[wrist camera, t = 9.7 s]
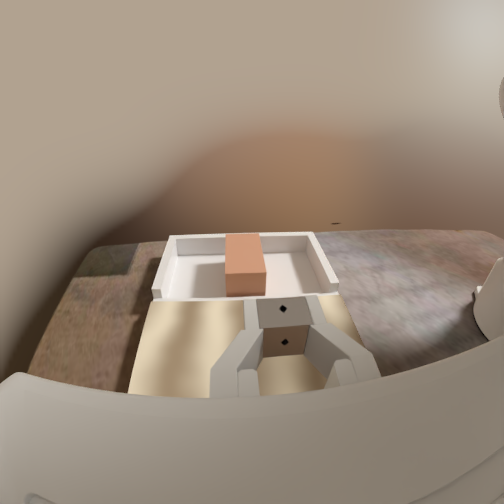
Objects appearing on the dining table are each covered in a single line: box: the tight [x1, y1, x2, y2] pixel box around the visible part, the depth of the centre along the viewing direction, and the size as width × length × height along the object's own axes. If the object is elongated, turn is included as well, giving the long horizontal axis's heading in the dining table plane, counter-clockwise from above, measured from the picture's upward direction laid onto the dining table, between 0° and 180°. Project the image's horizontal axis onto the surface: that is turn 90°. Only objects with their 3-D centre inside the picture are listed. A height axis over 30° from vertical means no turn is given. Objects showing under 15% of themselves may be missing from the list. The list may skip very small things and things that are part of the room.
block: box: [225, 233, 267, 297], centre depth 39 cm, size 5×5×10 cm
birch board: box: [128, 294, 365, 398], centre depth 29 cm, size 24×13×3 cm, turn 94°
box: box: [151, 232, 339, 301], centre depth 40 cm, size 24×15×4 cm, turn 94°
